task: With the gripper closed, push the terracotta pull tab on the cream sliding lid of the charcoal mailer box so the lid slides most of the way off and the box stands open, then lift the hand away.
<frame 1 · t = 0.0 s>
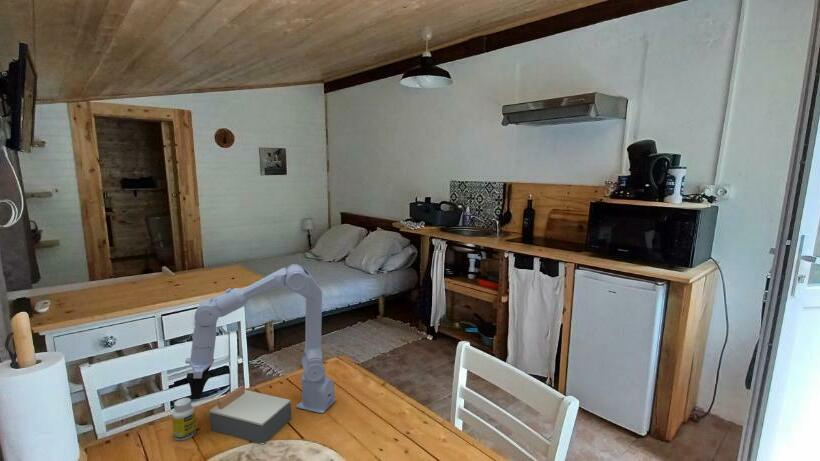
hand: (198, 391, 113), 11 cm above the table, tool pointing down, fingers open, 7 cm apart
lid: (250, 402, 114), point 7 cm above the table, slide at 0.0 cm
supplement bottle: (185, 435, 111), on the table
mailer box: (251, 424, 115), on the table
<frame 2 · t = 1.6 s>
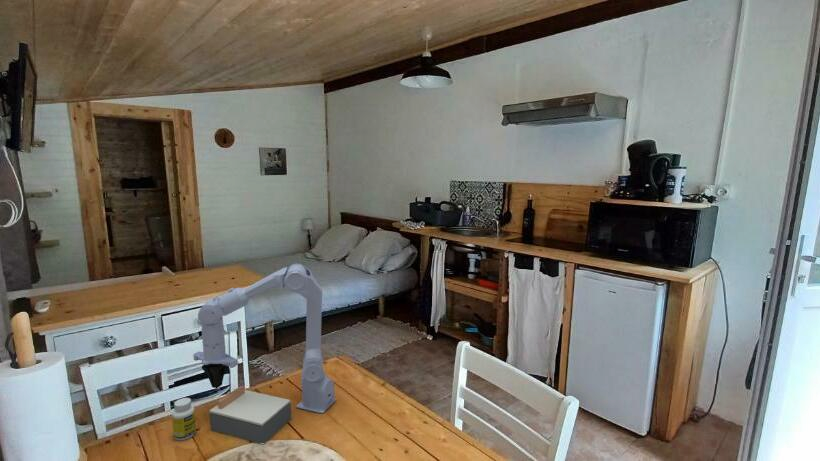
hand: (217, 386, 118), 9 cm above the table, tool pointing down, fingers closed
nothing on the table moved.
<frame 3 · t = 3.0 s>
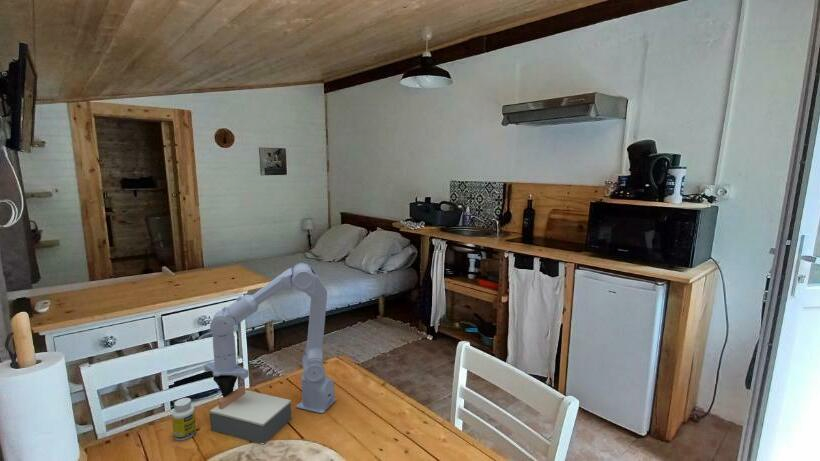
hand: (228, 397, 117), 7 cm above the table, tool pointing down, fingers closed
lid: (251, 402, 114), point 7 cm above the table, slide at 0.3 cm, touching gripper
everything else where it was.
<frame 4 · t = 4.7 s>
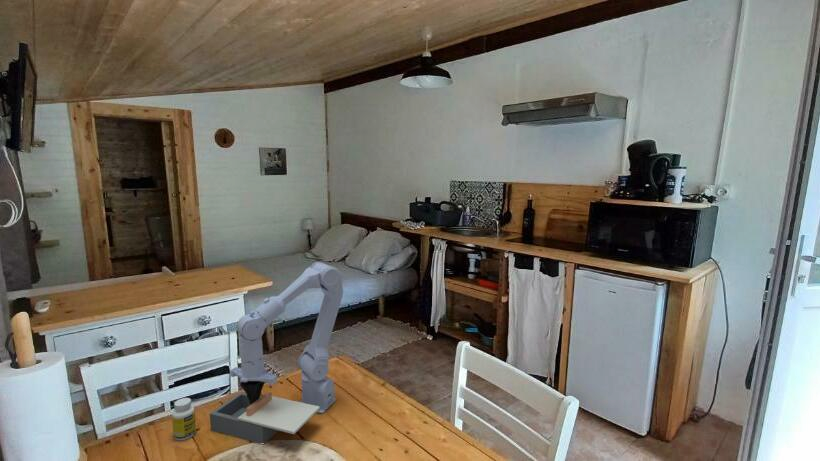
hand: (254, 403, 114), 7 cm above the table, tool pointing down, fingers closed
lid: (279, 409, 111), point 7 cm above the table, slide at 9.9 cm, touching gripper
everything else where it was.
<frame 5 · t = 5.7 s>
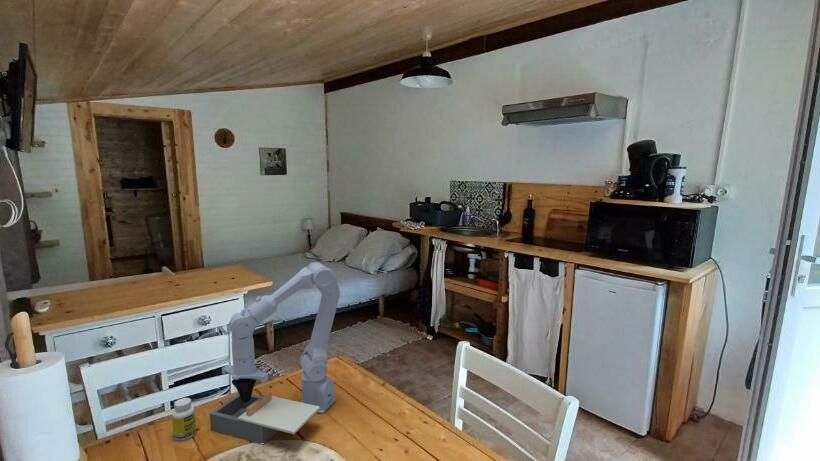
hand: (246, 400, 115), 7 cm above the table, tool pointing down, fingers closed
lid: (279, 409, 111), point 7 cm above the table, slide at 9.9 cm
everything else where it was.
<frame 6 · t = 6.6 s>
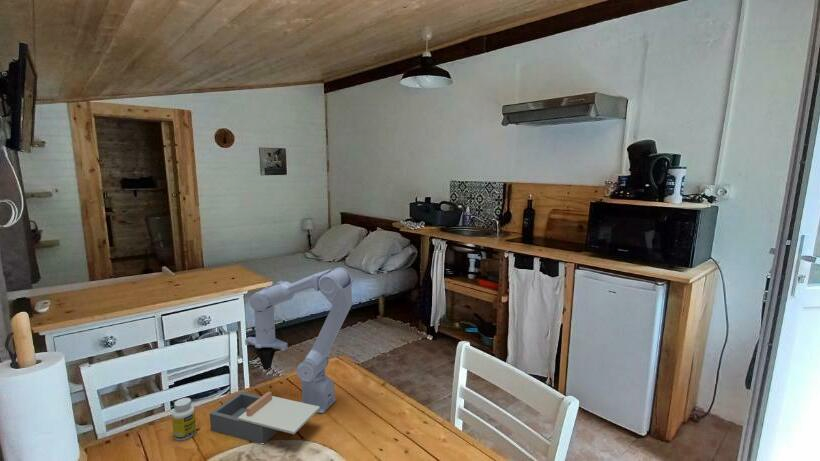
hand: (267, 368, 128), 10 cm above the table, tool pointing down, fingers closed
nothing on the table moved.
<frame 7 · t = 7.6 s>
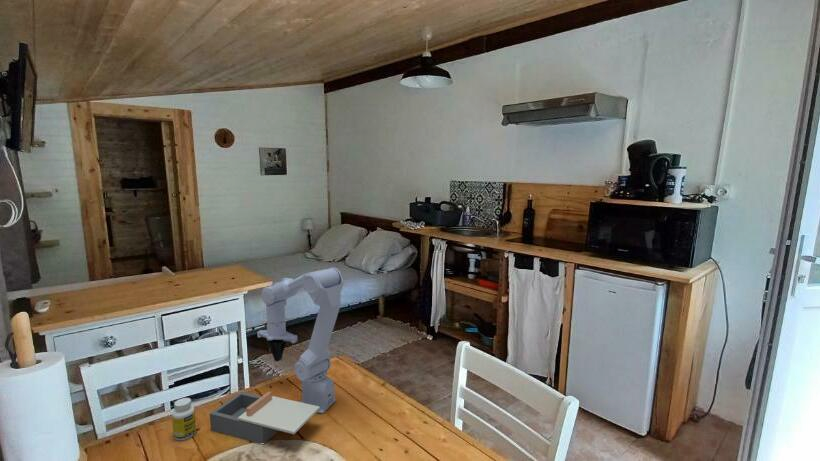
hand: (278, 359, 135), 9 cm above the table, tool pointing down, fingers closed
nothing on the table moved.
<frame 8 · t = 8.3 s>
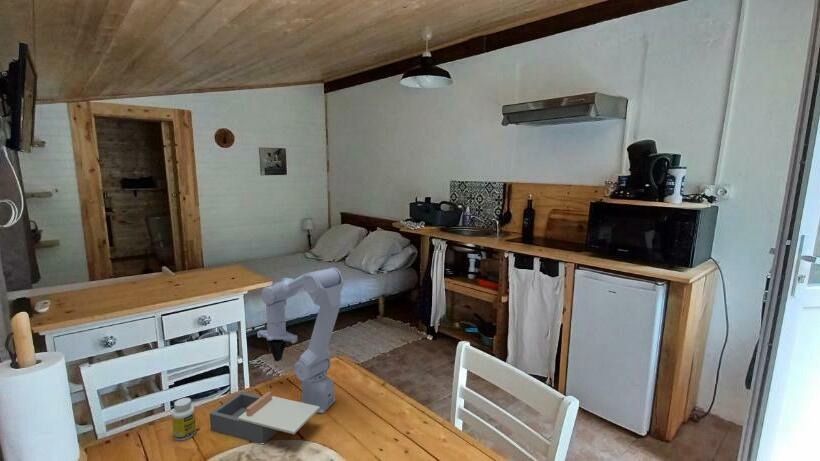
hand: (278, 359, 135), 9 cm above the table, tool pointing down, fingers closed
nothing on the table moved.
at the end: lid slide at 9.9 cm; supplement bottle moved 0.2 cm from its start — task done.
